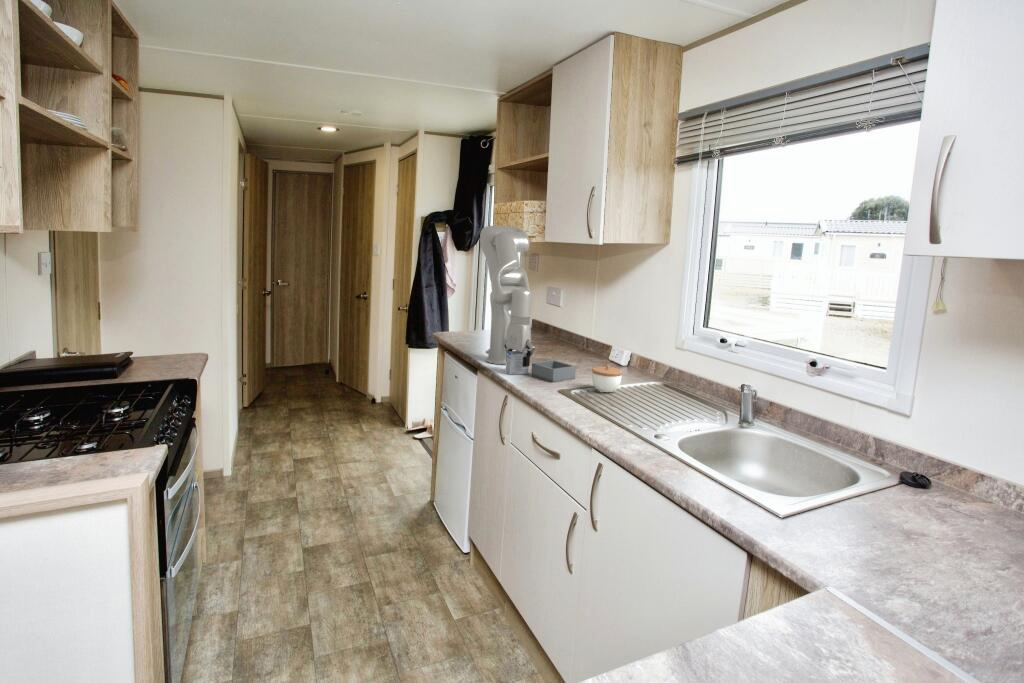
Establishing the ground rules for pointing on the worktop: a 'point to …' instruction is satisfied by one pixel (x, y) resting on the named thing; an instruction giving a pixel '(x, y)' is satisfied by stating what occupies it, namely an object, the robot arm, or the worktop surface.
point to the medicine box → (515, 363)
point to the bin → (553, 371)
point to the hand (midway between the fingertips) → (517, 364)
